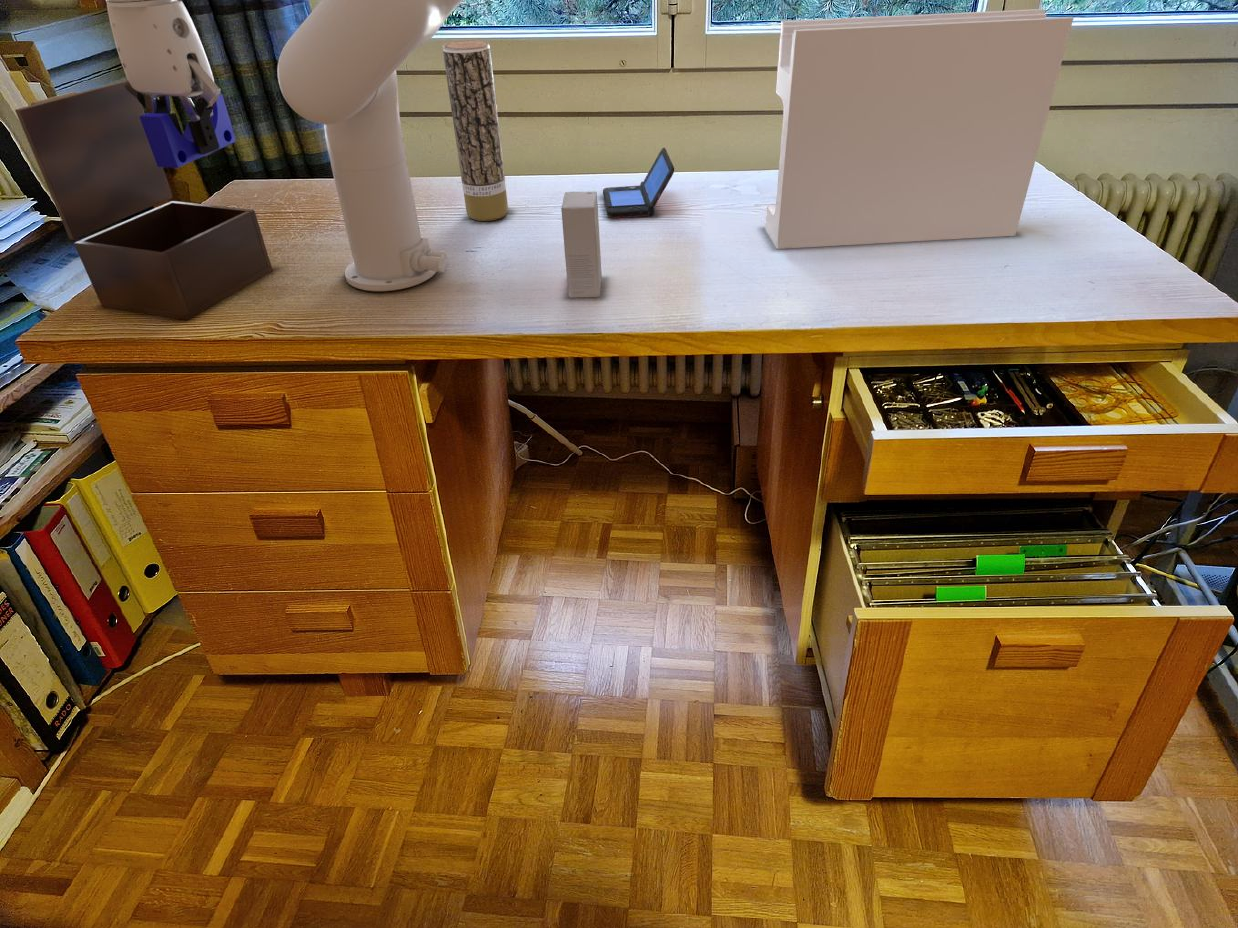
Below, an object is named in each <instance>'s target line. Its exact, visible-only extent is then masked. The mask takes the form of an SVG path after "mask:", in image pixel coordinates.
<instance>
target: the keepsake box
mask: <svg viewBox="0 0 1238 928" xmlns="http://www.w3.org/2000/svg"><path fill="white" fill-rule="evenodd" d="M73 245H74V247H75V249H76V251H77V254H78V256H79V258H80V259H79V260H80V261H81V263H82V266H83V267H84V270H85V272H86V274H87V276H88V278H89V281H90V283H91V285H92V288H93V289H94V291H95V294H96V297H97V300H98V301H99V303H100V305H101V307H103V308H110V309H115V310H122V311H127V312H133V313H134V312H135V313H139V314H145V315H152V316H157V317H164V318H170V319H176V320H181V321H189V320H191V319H193V318H194V317H196V316H197V315H199V314H200V313H202V312H204V311H206V310H208V309H210V308H211V307H213V306H214V305H216V304H217V303H219V302H221V301H223V300H224V299H226V298H228V297H230V296H232V295H233V294H235V293H236V292H239V291H240V290H242V289H244V288H245V287H247V286H248V285H250V284H252V283H254V282H255V281H257V280H259V279H261V278H262V277H264V276H266V275H268V274H269V273H271V272H273V270H274V269H273V266H272V264H271V260H270V255H269V253H268V250H267V247H266V243H265V240H264V236H263V233H262V231H261V227H260V224H259V221H258V217H257V214H256V210H255V209H248V208H239V207H232V206H223V205H214V204H213V205H211V204H203V203H194V202H185V201H177V200H171V201H169V202H167V203H164V204H162V205H159V206H157V207H154V208H152V209H150V210H148V211H145V212H143V213H140V214H138V215H135V216H133V217H131V218H130V219H127V220H124V221H122V222H120V223H116V224H115V225H112V226H110V227H108V228H105V229H103V230H101V231H98V232H96V233H94V234H92V235H89V236H87V237H84V238H82V239H79V240H78V241H75V242H73Z"/></svg>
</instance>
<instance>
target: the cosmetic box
mask: <svg viewBox="0 0 1238 928" xmlns="http://www.w3.org/2000/svg"><path fill="white" fill-rule="evenodd" d="M561 204H562V205H561V223H562V234H563V236H562V237H563V247H564V258H565V272H566V282H567V295H568V298H571V299H572V298H573V299H575V298H599V297H600V296H601V289H602V278H603V274H602V257H601V240H600V239H601V238H600V223H599V203H598V192H597V191H596V190H595V191H565V192H564V195H563V199H562V203H561Z"/></svg>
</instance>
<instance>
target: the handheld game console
mask: <svg viewBox="0 0 1238 928" xmlns="http://www.w3.org/2000/svg"><path fill="white" fill-rule="evenodd" d="M674 173H675V166H674V164H673V162H672V160H671V158H670V156H669V153H668V150H667V149H666V148H665V147H662V148H661V150H660V151H659V152H658V154H657V156H656V158H655V160H654V162H653V163H652V165H651V167H650V169H649V170H648V172H647V174H646V176H645V178H644V179H643V181H641V182H640V184H639V185H628V186H627V185H625V186H612V187H611V186H610V187H609V186H608V187H604V188H603V189H602V196H603V202H604V206H605V210H606V214H607V216H608V217H609V218H611V219H618V218H633V217H648V216H650V217H653V216H654V215H655V210H654V208H655V207H656V205H657V203H658V201H659V199H660V198H661V196H662V194H663V192H664V191H665V189H666V188H667V186H668V184H669V183H670V180H671V179H672V177H673V175H674Z"/></svg>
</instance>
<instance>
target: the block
mask: <svg viewBox="0 0 1238 928" xmlns="http://www.w3.org/2000/svg"><path fill="white" fill-rule="evenodd" d="M1046 11H1047V10H1046V9H1044V8H1034V9H1013V10H1012V9H1011V10H1010V9H1009V10H989V11H967V12H948V13H947V12H946V13H945V12H944V13H926V14H925V13H924V14H923V13H922V14H904V15H903V14H901V15H884V16H883V15H882V16H860V17H841V18H840V17H839V18H838V17H837V18H819V19H801V20H800V19H798V20H781V21H780V36H779V45H778V60H777V69H776V70H777V71H776V72H777V74H776V83H775V85H776V86H775V94H776V95H777V96H778V97H779V98H780V99H781V101H782V104H783V105H782V107H783V108H782V109H783V114H782V127H781V137H780V151H779V163H778V172H777V173H778V174H777V183H776V196H775V197H776V198H775V205H766V215H765V227H764V229H765V231H766V233H767V235H768V236H769V238H770V240H771V241H772V243H773V245H774V247H775V248H776V250H782V249H783V250H784V249H785V250H786V249H801V248H822V247H837V246H855V245H875V244H890V243H893V244H894V243H909V242H912V243H913V242H927V241H944V240H946V241H948V240H965V239H981V238H999V237H1015V236H1016V235H1017V231H1018V227H1019V224H1020V220H1021V217H1022V212H1023V209H1024V205H1025V201H1026V197H1027V193H1028V190H1029V186H1030V182H1031V178H1032V175H1033V171H1034V167H1035V163H1036V161H1037V157H1038V152H1039V148H1040V145H1041V142H1042V137H1043V134H1044V131H1045V130H1044V129H1045V126H1046V123H1047V119H1048V115H1049V111H1050V107H1051V104H1052V101H1053V97H1054V92H1055V89H1056V86H1057V80H1058V78H1059V74H1060V70H1061V66H1062V63H1063V59H1064V55H1065V51H1066V48H1067V44H1068V40H1069V36H1070V33H1071V30H1072V26H1073V21H1074V17H1072V16H1061V17H1058V16H1057V17H1047V14H1046Z"/></svg>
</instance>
